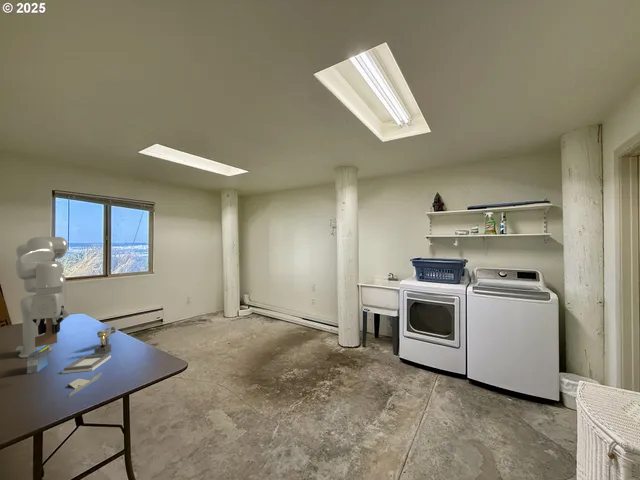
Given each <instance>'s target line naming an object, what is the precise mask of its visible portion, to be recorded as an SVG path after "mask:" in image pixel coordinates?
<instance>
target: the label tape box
mask: <svg viewBox="0 0 640 480" xmlns="http://www.w3.org/2000/svg"><path fill="white" fill-rule="evenodd" d="M49 346H50V344H49V345H44V346H43V347H42V346H39V347H37V348H38V350H36V351H34V352H33V353H31V354H29V355H28V356H27V357H26V358H27V359H26V362H27V364H26V374H35V373H39V372H40V371H41V370H42V369H44V368H45V367H46V366H48V365H49V357H50V356H49V355H50V354H49V352H50V351H49Z"/></svg>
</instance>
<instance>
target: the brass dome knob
mask: <svg viewBox="0 0 640 480" xmlns="http://www.w3.org/2000/svg"><path fill="white" fill-rule="evenodd" d="M105 335H107V333H100V334H99V336H100V338H99V339H100V345H101V347H104V346H105V345H106V342H105Z"/></svg>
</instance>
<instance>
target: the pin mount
mask: <svg viewBox="0 0 640 480" xmlns="http://www.w3.org/2000/svg"><path fill="white" fill-rule="evenodd" d="M93 352H94V354H93V355H100V354H110V353H111V352H112V343H111V344H110V343H109V344H107V345H106V344H105V346H104V347H101V344H100V345H98V346H96V347H94V351H93Z"/></svg>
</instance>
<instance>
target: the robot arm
mask: <svg viewBox="0 0 640 480" xmlns="http://www.w3.org/2000/svg"><path fill="white" fill-rule="evenodd" d="M68 249H69V245H68V241H67V240H66V239H65V237H63V236H35V237H32V238H30V239H28V240H27V242H26V244H21V245H19V246H17V247H16V256H17V260H16V261H15V272H16V276H17V277H18V279H20V280H23V287H24V290H25V292H26V293H35V294H32V295H26V296H24V297H22V298H21V299H20V301H19V307H20V312H21V316H22V345H19V346H17V347H16V349H15V350H14V351H15V352H20V353H19V354H18V357H19V358H27V356H28V355H29V354H31V353H33V352H34V351H36V350H38V348H37V347H35V337H37V336H41V335H43V334H45V332H46V319H48V318H52V320H53V323H54V324H53V325H52V334H55V333H57V334H58V333H59V332H60V331H61V323H62V322H63V321H64V320H65V319H66V318H68V317H69V316H70V314H69V312H67V310H66V304H67V280H66V276H65V275H64V269H65V268H64V264H62V262H60V261H58V259H62V258H63V257H65V254H66V253H67V251H68ZM56 260H57V261H56ZM42 347H43V346H42ZM52 350H54V346H51V345H49V352H51V351H52Z"/></svg>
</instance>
